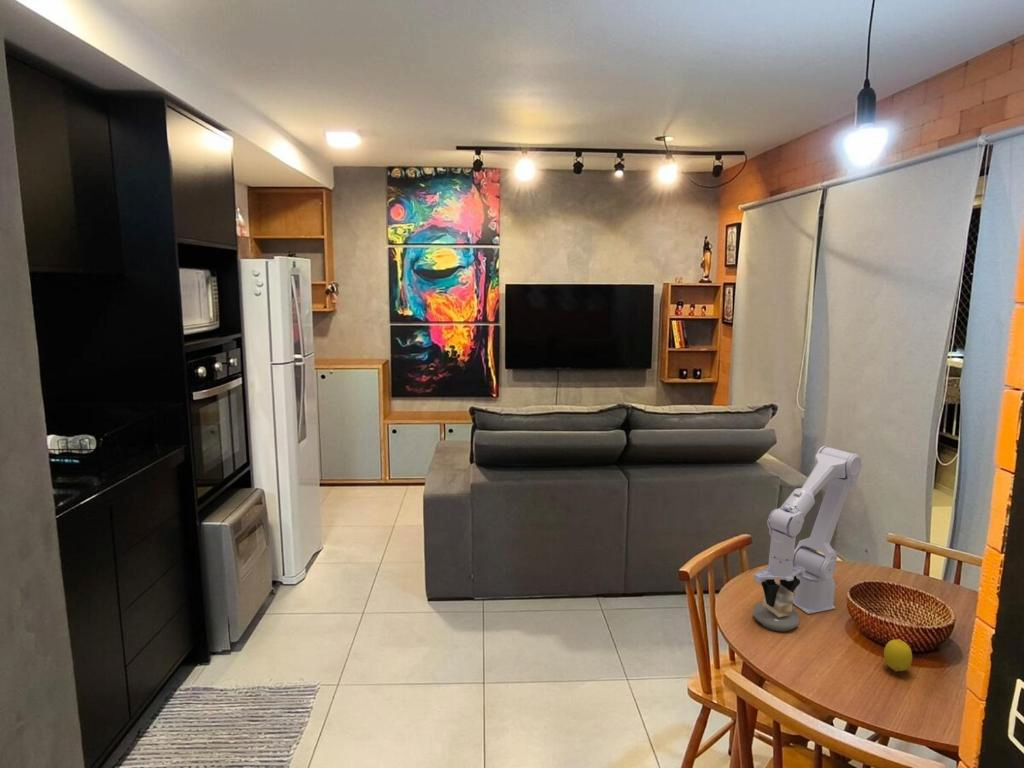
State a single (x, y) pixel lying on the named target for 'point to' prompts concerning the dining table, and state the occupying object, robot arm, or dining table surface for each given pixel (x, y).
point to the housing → (781, 602)
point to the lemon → (898, 655)
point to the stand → (775, 618)
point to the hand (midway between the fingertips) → (776, 603)
